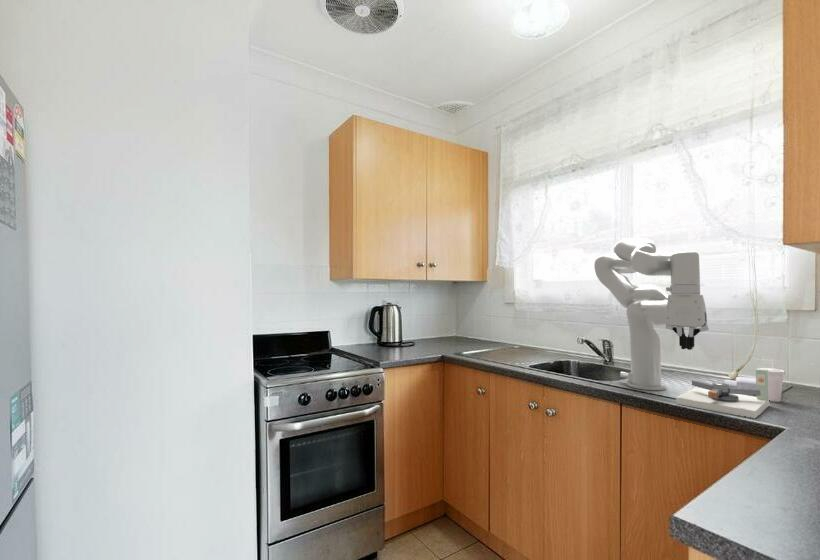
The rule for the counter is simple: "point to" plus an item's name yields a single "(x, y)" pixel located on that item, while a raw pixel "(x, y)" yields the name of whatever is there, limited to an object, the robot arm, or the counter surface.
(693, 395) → the stand
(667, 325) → the robot arm
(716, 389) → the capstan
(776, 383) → the smoothie
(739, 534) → the counter surface
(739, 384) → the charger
